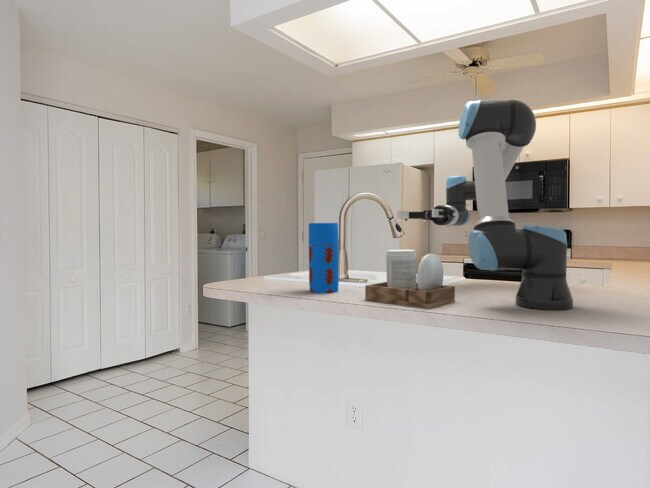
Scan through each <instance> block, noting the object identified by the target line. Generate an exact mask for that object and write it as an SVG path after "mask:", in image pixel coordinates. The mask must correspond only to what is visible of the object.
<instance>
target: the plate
mask: <svg viewBox="0 0 650 488" xmlns="http://www.w3.org/2000/svg"><path fill="white" fill-rule="evenodd" d="M416 276H417V284H418V289H419V290H420V291H431V290H435V289H440V288H441V287H442V285H443V283H444V268H443V263H442V260H441V258H440V257H439V255H437V254H436V253H426V254H425V255H424V256H422V258H421V260H420V262H419V265H418V267H417V271H416Z"/></svg>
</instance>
